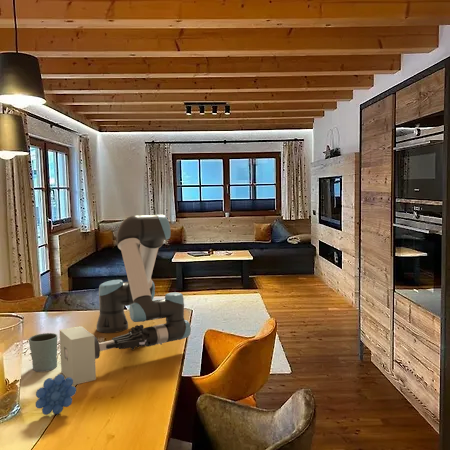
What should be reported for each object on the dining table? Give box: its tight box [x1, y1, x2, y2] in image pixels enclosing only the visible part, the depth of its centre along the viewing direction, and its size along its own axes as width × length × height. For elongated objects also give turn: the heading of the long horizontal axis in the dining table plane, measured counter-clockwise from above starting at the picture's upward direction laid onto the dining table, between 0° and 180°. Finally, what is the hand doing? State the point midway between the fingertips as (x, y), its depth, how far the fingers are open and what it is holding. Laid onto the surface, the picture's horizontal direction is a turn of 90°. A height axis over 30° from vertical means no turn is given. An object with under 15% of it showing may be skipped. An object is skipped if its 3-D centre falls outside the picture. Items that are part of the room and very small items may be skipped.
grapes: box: [35, 373, 77, 416], centre depth 139 cm, size 12×7×12 cm, turn 107°
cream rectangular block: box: [59, 325, 97, 386], centre depth 168 cm, size 15×8×16 cm, turn 35°
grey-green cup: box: [28, 332, 58, 372], centre depth 176 cm, size 10×10×12 cm
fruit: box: [127, 324, 144, 351], centre depth 199 cm, size 9×8×15 cm
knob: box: [65, 336, 101, 360], centre depth 168 cm, size 8×11×8 cm
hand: (96, 347), depth 171 cm, fingers closed
